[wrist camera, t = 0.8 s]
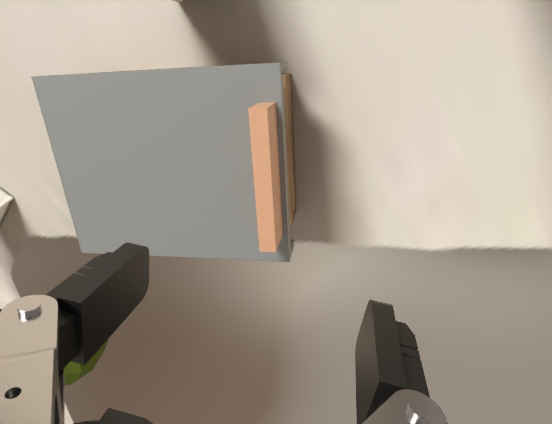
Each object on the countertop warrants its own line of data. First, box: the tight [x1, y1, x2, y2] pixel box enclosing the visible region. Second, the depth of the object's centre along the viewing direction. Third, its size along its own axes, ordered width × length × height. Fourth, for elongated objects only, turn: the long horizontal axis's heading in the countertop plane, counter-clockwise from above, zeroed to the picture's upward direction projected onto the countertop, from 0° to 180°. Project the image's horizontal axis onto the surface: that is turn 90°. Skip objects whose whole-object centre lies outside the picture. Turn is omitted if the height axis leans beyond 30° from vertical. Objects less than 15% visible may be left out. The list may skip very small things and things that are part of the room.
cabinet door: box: [32, 62, 294, 262], centre depth 29 cm, size 19×15×6 cm
